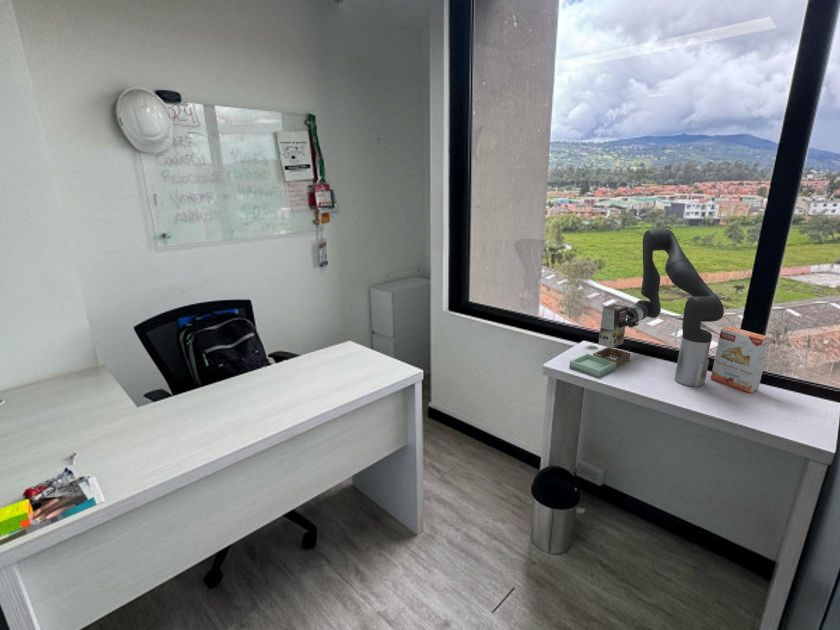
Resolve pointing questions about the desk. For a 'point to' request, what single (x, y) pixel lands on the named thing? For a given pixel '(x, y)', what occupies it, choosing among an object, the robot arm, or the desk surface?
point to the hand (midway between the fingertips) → (610, 323)
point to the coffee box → (612, 325)
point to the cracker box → (740, 358)
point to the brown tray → (621, 355)
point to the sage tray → (592, 365)
